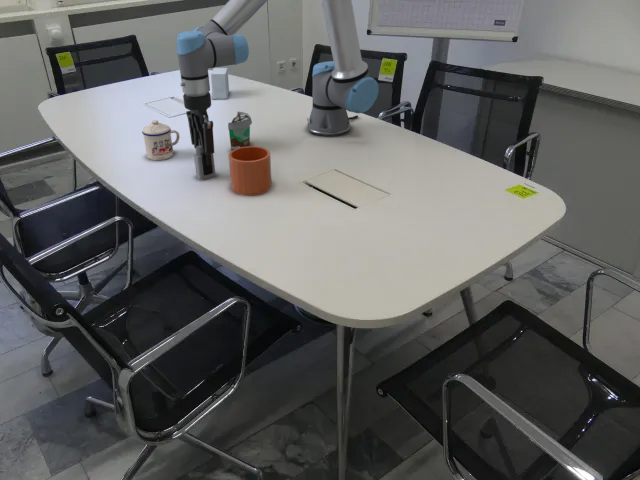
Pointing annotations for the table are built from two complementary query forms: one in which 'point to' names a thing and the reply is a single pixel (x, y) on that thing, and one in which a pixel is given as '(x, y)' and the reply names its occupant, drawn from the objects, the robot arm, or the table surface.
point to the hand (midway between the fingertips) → (205, 171)
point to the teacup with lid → (159, 140)
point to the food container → (240, 130)
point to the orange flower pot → (250, 170)
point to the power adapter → (199, 164)
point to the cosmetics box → (220, 83)
